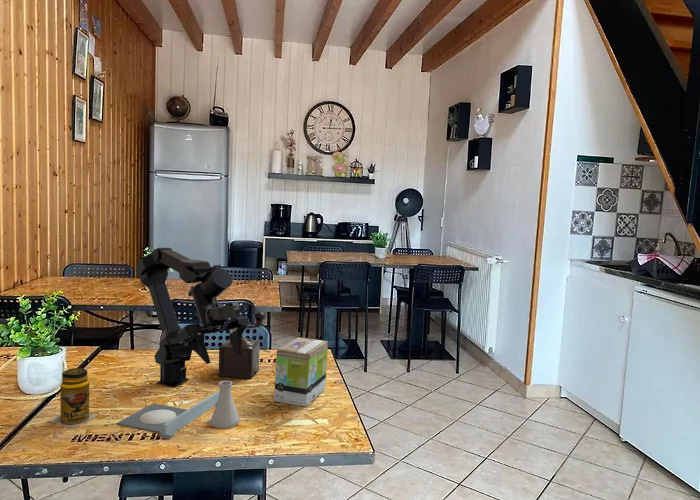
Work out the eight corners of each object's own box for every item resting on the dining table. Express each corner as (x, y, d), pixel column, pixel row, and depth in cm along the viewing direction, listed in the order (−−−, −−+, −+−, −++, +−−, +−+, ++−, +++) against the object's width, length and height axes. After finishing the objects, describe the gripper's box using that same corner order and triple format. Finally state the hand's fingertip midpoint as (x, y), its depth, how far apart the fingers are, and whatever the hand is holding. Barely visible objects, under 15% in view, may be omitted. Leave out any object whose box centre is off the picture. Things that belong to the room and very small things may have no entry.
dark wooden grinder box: (252, 379, 154) (254, 321, 152) (217, 377, 155) (218, 319, 153) (265, 364, 169) (267, 311, 168) (233, 361, 170) (234, 309, 169)
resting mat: (116, 424, 120) (116, 422, 120) (153, 404, 132) (153, 402, 132) (163, 433, 116) (163, 432, 116) (196, 412, 129) (196, 410, 129)
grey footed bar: (159, 436, 115) (159, 423, 114) (212, 401, 136) (213, 391, 135) (170, 438, 114) (170, 425, 114) (222, 403, 135) (223, 392, 135)
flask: (232, 431, 119) (233, 389, 118) (203, 427, 121) (204, 386, 120) (244, 418, 126) (245, 379, 125) (217, 415, 128) (218, 376, 127)
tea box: (307, 408, 135) (309, 353, 134) (272, 402, 138) (274, 348, 136) (326, 389, 149) (328, 339, 148) (294, 384, 152) (296, 335, 151)
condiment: (74, 428, 117) (74, 377, 116) (45, 421, 120) (45, 372, 119) (98, 416, 124) (98, 368, 123) (71, 410, 127) (71, 363, 126)
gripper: (188, 295, 123) (207, 355, 118) (251, 288, 137) (270, 342, 132) (169, 313, 130) (185, 371, 125) (231, 305, 144) (248, 357, 139)
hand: (224, 360), depth 130 cm, fingers open, 9 cm apart
